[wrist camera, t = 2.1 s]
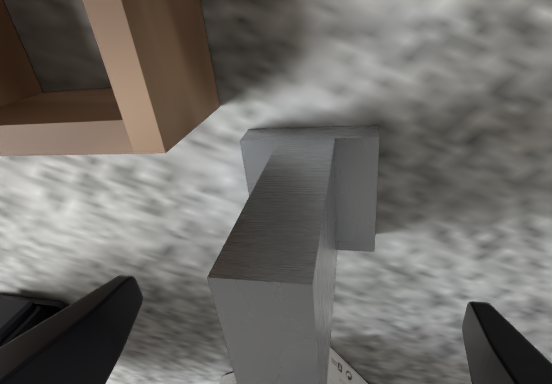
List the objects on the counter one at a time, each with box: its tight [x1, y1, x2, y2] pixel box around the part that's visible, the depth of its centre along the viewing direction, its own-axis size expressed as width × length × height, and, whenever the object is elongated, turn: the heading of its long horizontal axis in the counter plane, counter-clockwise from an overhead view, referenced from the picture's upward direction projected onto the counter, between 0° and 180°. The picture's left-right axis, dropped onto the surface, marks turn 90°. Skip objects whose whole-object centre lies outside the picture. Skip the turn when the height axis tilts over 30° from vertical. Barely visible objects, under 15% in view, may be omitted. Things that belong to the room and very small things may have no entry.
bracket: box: [207, 125, 380, 384], centre depth 11 cm, size 5×5×8 cm
